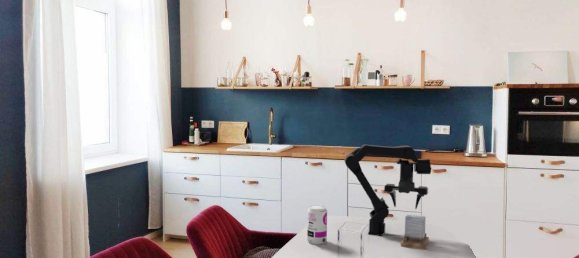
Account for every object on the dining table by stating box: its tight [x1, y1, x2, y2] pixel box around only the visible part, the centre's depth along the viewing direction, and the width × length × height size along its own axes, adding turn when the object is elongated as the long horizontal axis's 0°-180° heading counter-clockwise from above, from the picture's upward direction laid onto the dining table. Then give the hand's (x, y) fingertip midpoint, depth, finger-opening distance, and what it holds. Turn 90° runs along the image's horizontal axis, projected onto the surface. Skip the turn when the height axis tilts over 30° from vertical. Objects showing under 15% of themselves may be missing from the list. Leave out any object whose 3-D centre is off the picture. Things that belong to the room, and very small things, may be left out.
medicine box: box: [404, 214, 426, 238], centre depth 205 cm, size 8×4×9 cm, turn 66°
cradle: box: [400, 232, 430, 250], centre depth 205 cm, size 10×13×3 cm
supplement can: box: [306, 204, 328, 245], centre depth 205 cm, size 8×8×15 cm
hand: (405, 208), depth 218 cm, fingers open, 9 cm apart
